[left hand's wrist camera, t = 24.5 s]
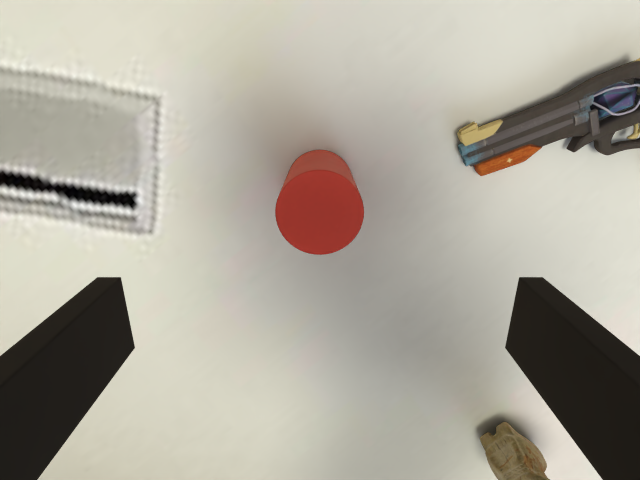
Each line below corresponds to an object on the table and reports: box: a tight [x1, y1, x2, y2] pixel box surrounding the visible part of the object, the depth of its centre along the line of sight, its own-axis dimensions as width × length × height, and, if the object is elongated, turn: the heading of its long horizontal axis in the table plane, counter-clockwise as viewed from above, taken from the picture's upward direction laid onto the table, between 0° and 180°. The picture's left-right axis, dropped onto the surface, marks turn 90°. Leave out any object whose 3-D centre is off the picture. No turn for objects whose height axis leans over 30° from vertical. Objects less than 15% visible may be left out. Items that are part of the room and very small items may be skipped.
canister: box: [275, 150, 364, 255], centre depth 28 cm, size 6×6×9 cm
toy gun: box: [457, 58, 640, 176], centre depth 30 cm, size 3×19×10 cm
